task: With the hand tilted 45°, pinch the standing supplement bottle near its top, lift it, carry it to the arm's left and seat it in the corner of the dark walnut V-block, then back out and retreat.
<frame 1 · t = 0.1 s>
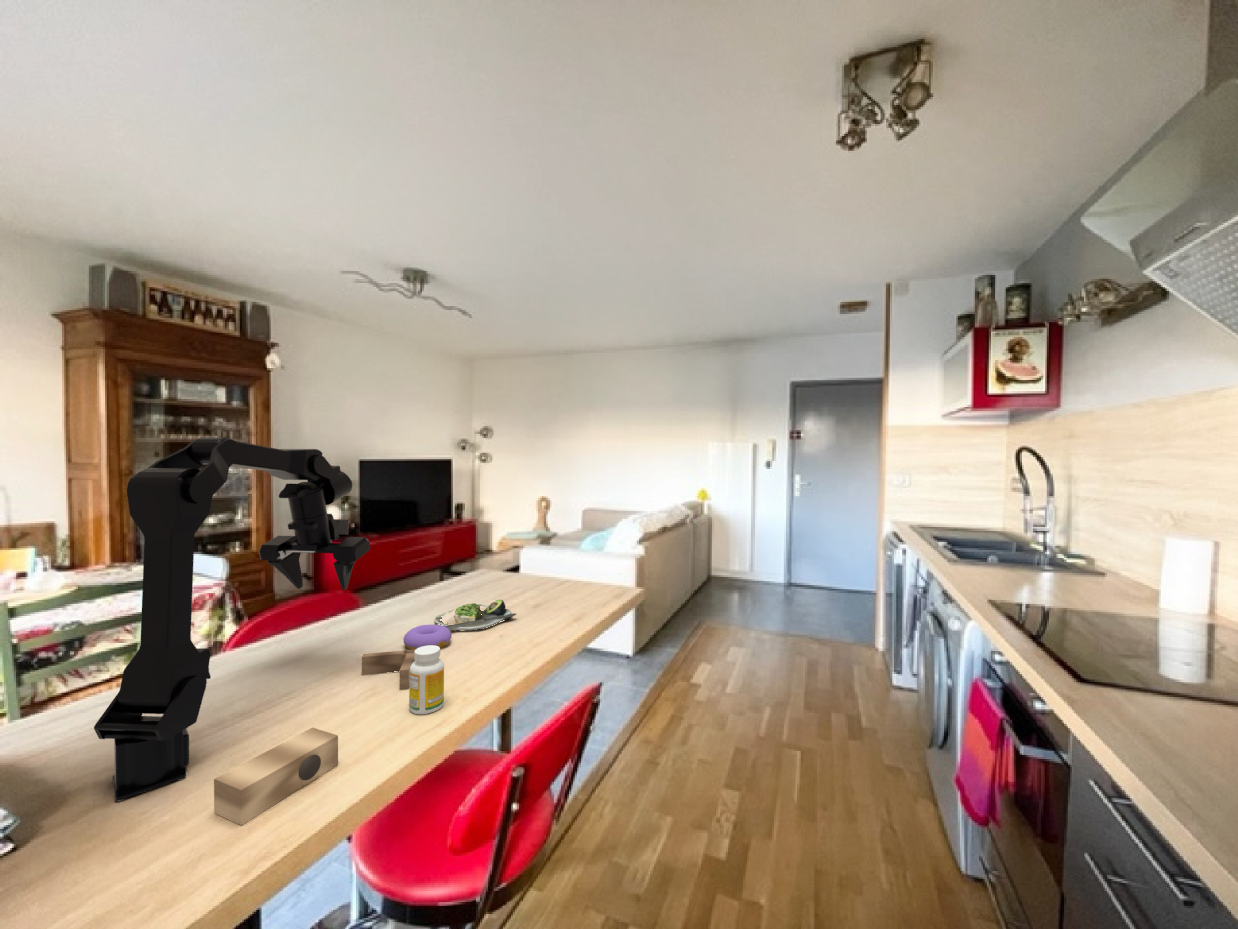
hand: (322, 588, 98), 15 cm above the table, tool pointing down, fingers open, 9 cm apart
supplement bottle: (426, 708, 83), on the table
beam: (280, 787, 63), on the table
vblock: (383, 681, 92), on the table
salad plate: (476, 622, 127), on the table
donut: (427, 646, 110), on the table
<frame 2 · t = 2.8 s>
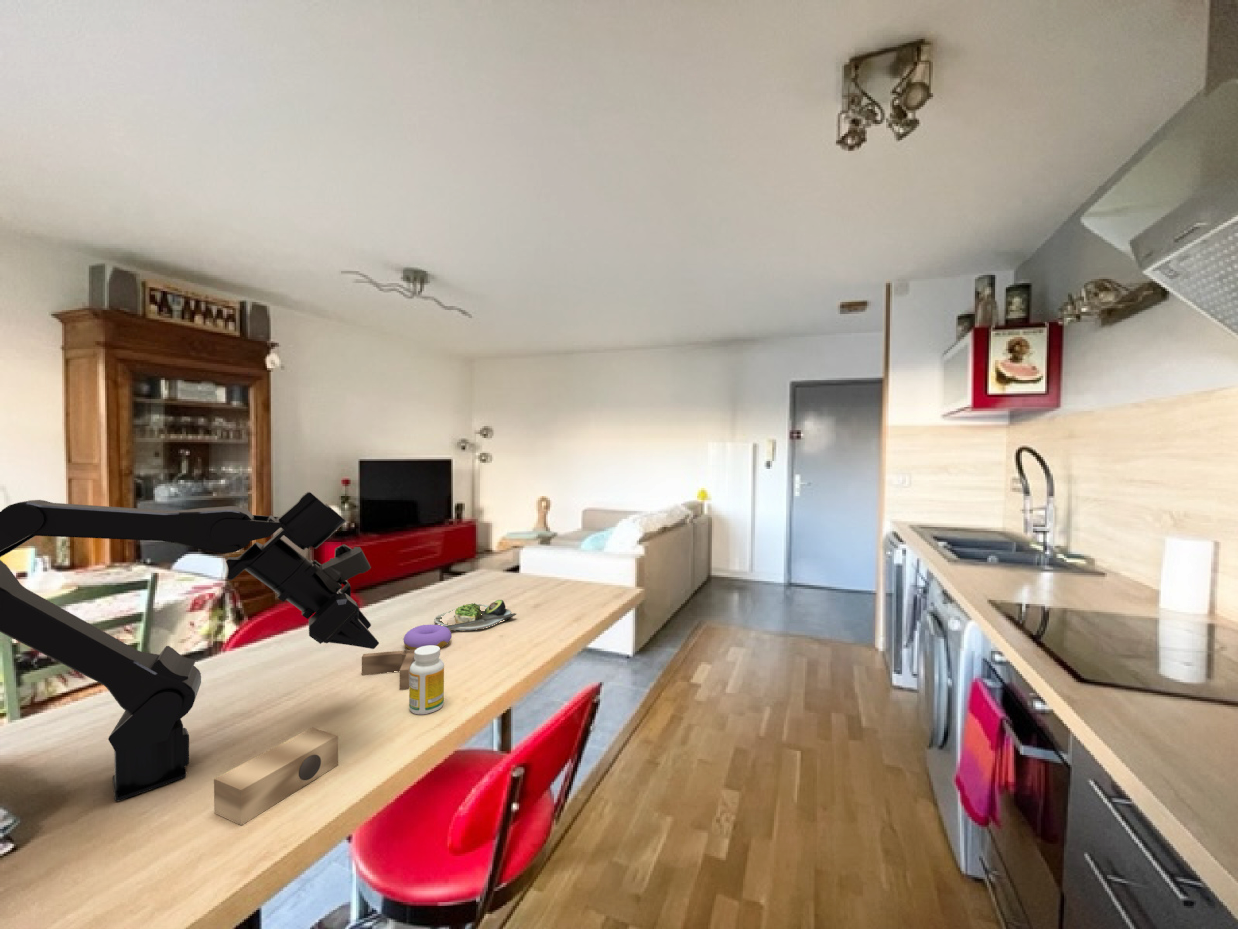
hand: (372, 636, 78), 13 cm above the table, tool tilted 45°, fingers open, 9 cm apart
nothing on the table moved.
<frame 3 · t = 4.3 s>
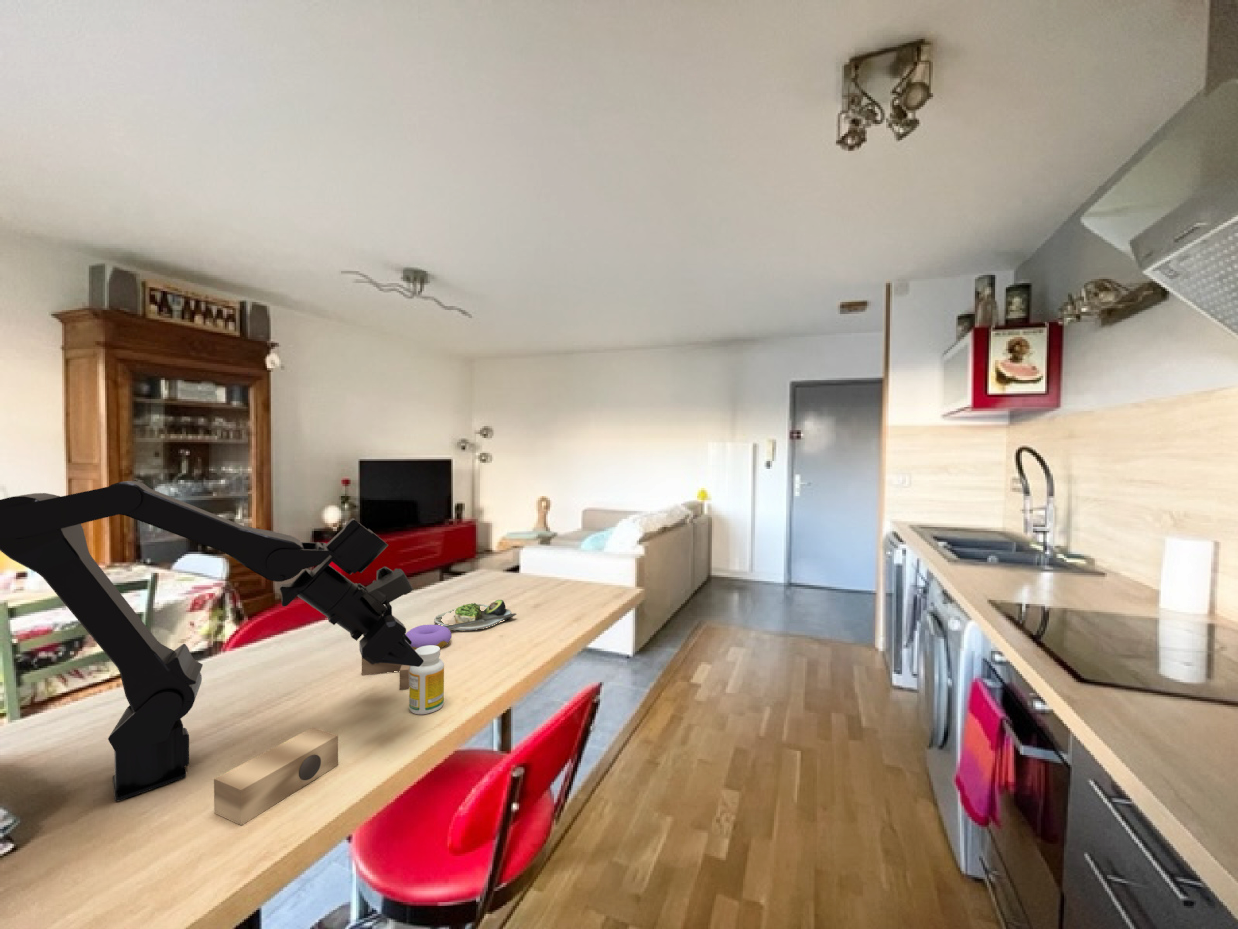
hand: (415, 653, 82), 9 cm above the table, tool tilted 45°, fingers open, 9 cm apart
nothing on the table moved.
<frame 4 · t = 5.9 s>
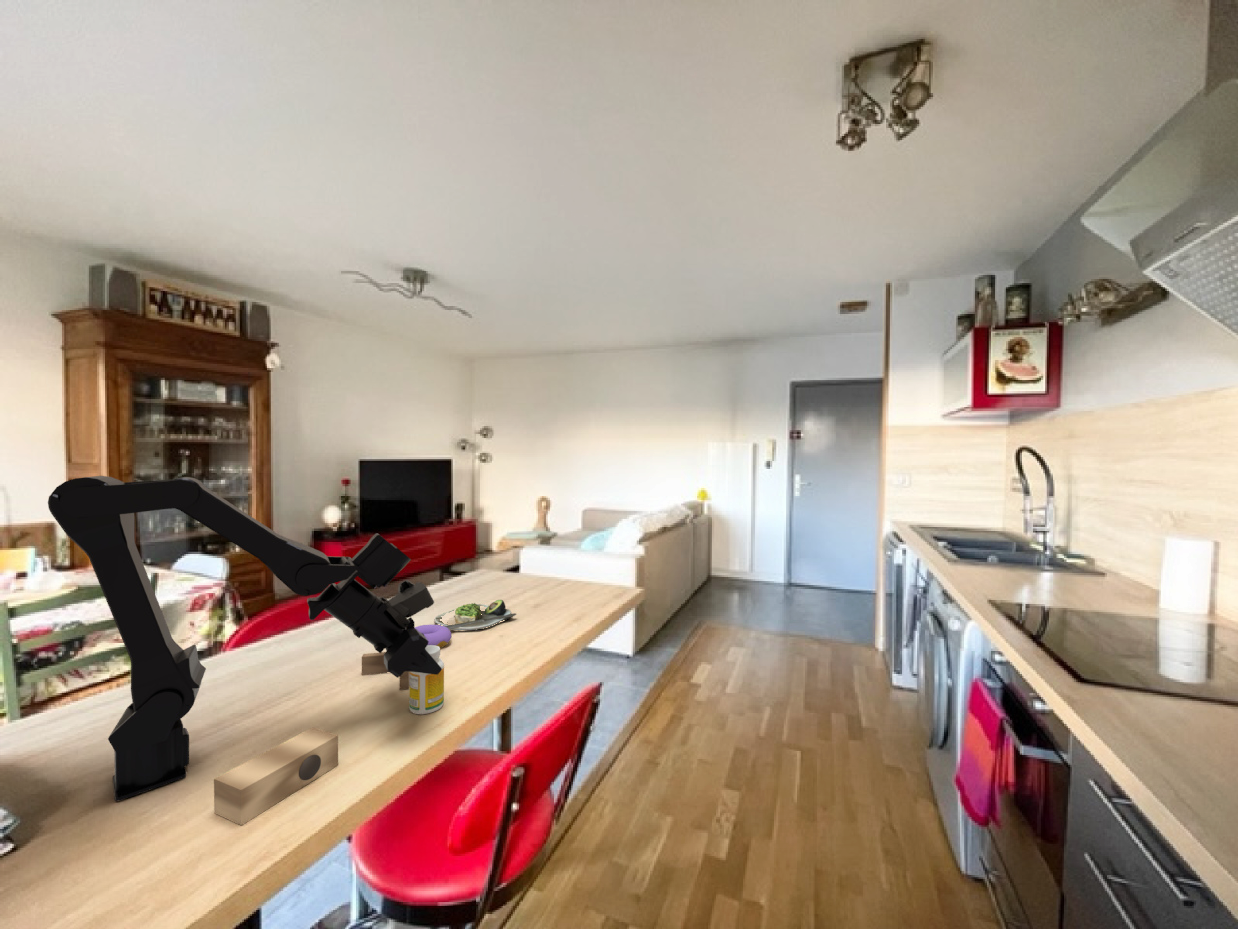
hand: (435, 665, 83), 7 cm above the table, tool tilted 45°, fingers closed on supplement bottle, 5 cm apart
supplement bottle: (426, 708, 83), on the table, touching gripper
everything else where it was.
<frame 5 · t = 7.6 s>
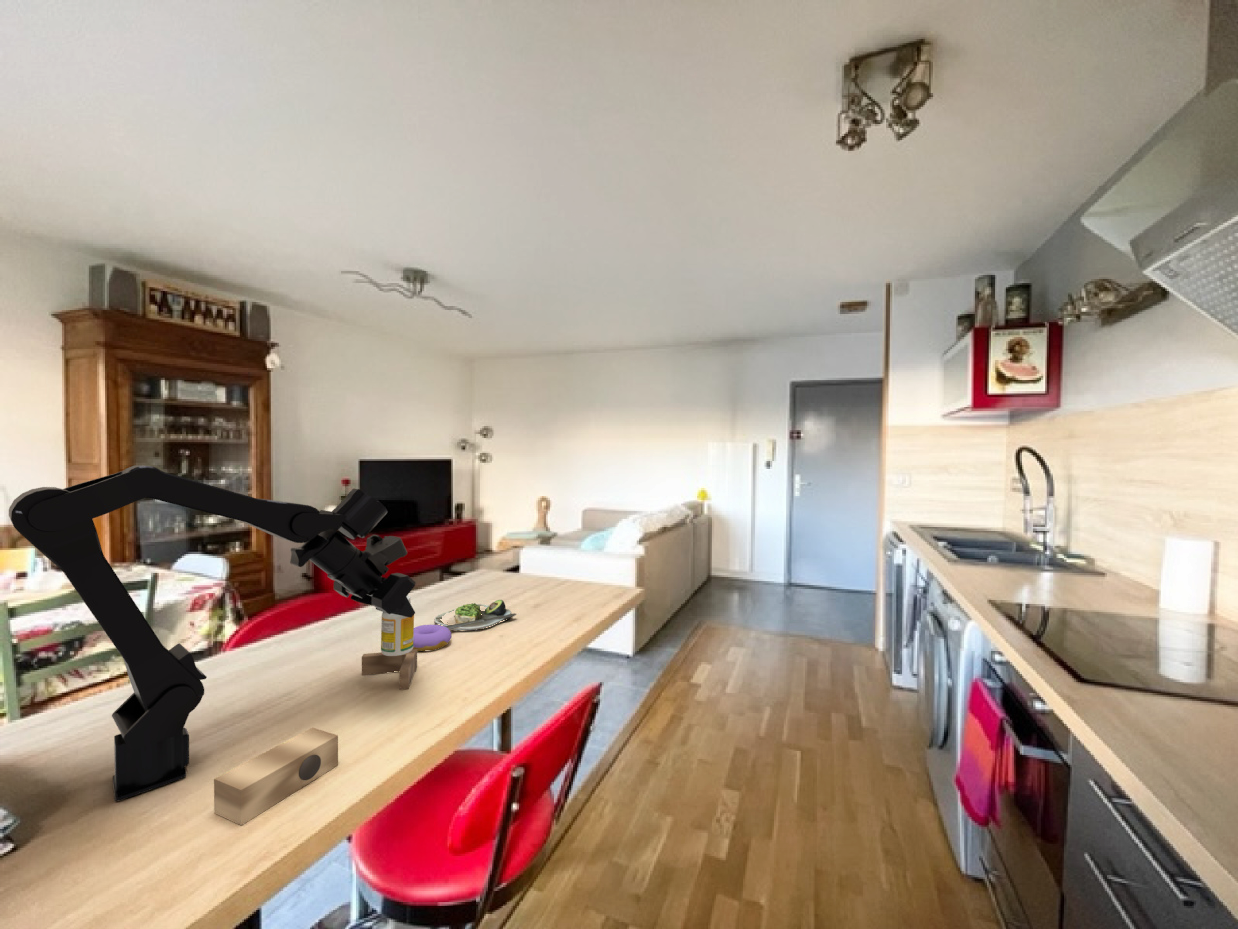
hand: (404, 612, 91), 13 cm above the table, tool tilted 45°, fingers closed on supplement bottle, 5 cm apart
supplement bottle: (397, 652, 90), point 6 cm above the table, touching gripper
everything else where it was.
when the fingers open (8 cm above the table, at t = 9.6 s): supplement bottle drops 1 cm, on the table.
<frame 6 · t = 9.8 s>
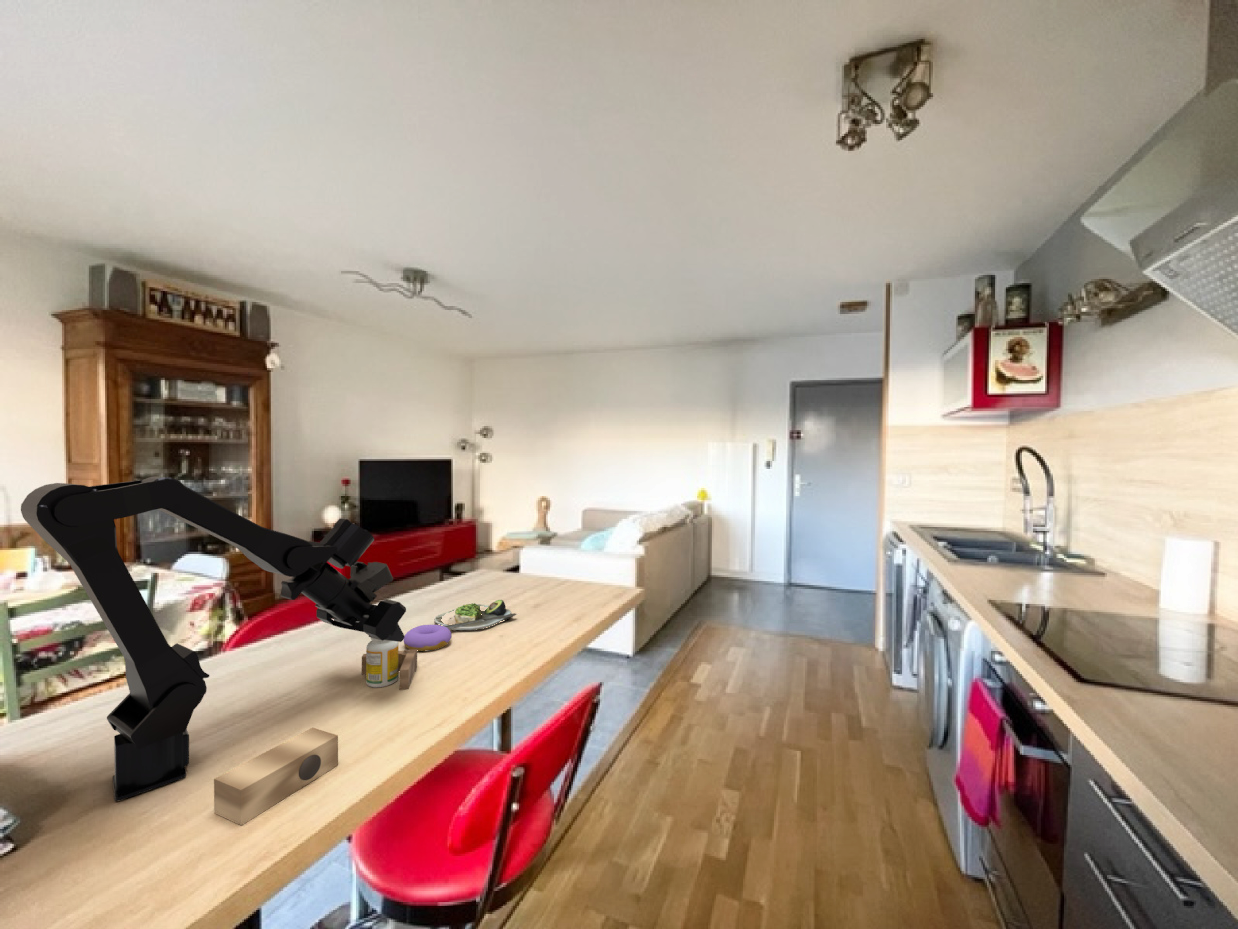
hand: (390, 635, 93), 8 cm above the table, tool tilted 45°, fingers open, 7 cm apart
supplement bottle: (382, 682, 92), on the table
everything else where it was.
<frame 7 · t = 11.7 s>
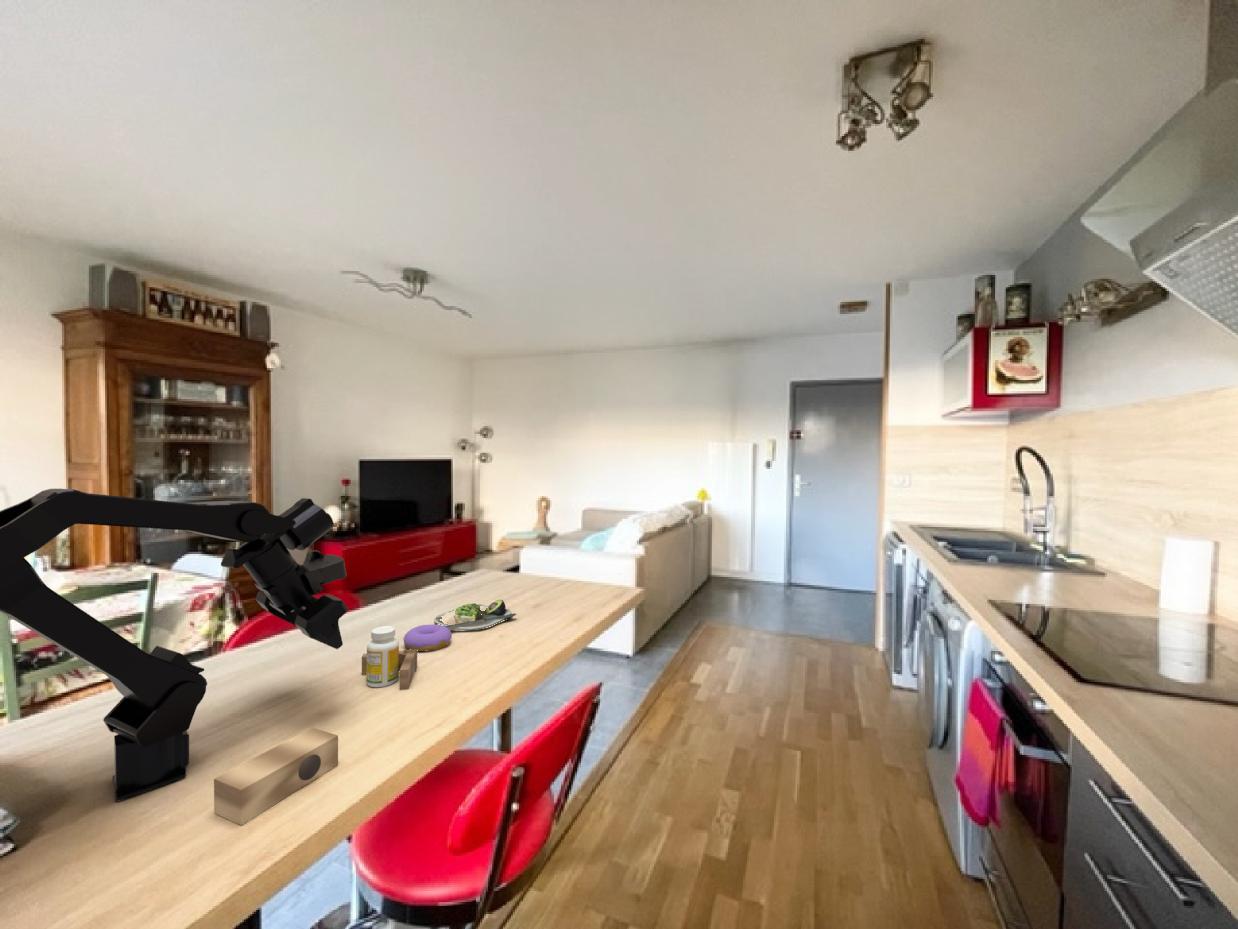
hand: (326, 638, 85), 10 cm above the table, tool tilted 30°, fingers open, 9 cm apart
nothing on the table moved.
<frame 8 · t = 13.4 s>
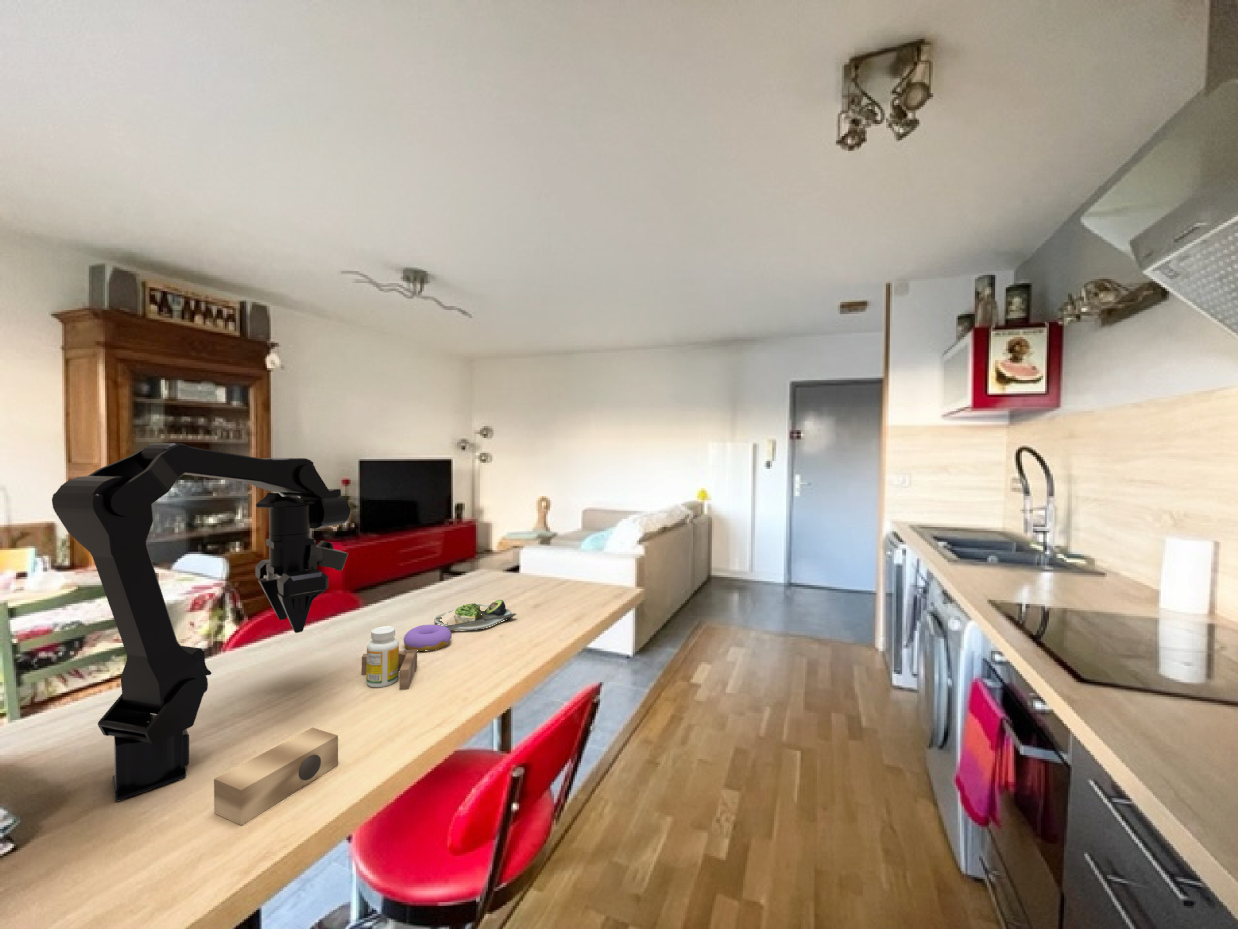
hand: (290, 625, 84), 13 cm above the table, tool pointing down, fingers open, 9 cm apart
nothing on the table moved.
at the end: supplement bottle 0.2 cm from the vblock (horizontally); supplement bottle tilted 0°; the gripper is holding nothing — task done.
